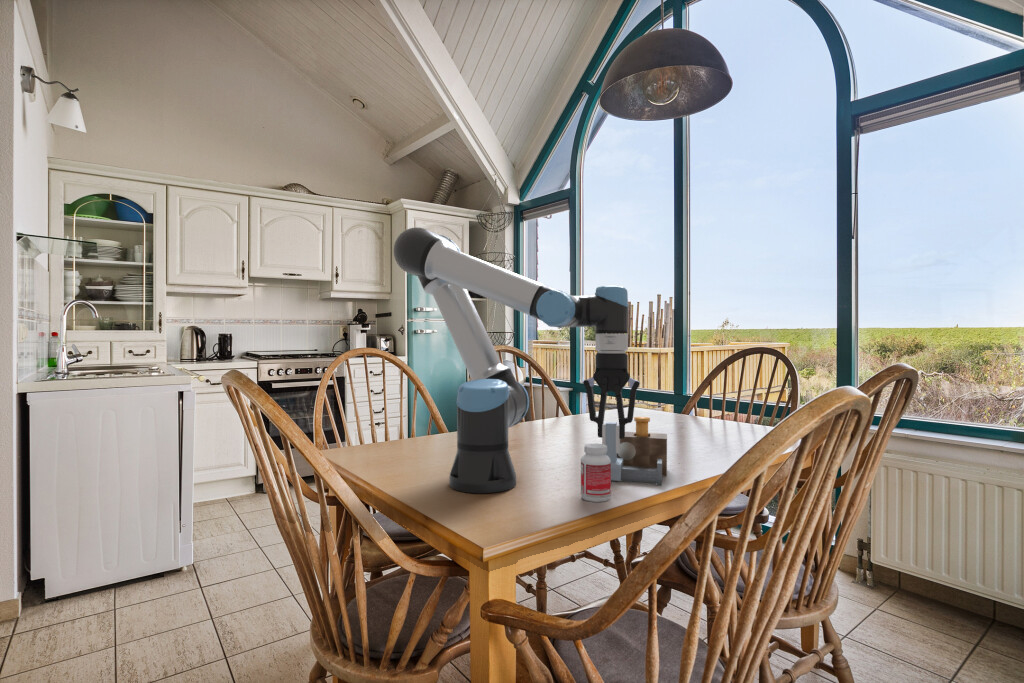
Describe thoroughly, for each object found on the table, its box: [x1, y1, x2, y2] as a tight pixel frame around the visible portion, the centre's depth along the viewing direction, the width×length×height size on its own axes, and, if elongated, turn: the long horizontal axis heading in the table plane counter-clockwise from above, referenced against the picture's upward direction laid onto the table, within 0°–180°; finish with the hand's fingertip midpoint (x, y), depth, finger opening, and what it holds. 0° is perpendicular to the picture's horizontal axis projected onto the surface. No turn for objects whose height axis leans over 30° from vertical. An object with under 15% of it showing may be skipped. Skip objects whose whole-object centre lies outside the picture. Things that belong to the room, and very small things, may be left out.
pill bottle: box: [580, 443, 612, 503], centre depth 112 cm, size 6×6×11 cm
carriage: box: [605, 421, 623, 482], centre depth 127 cm, size 5×7×13 cm
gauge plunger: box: [633, 416, 651, 437], centre depth 135 cm, size 4×4×7 cm
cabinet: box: [617, 431, 668, 477], centre depth 135 cm, size 12×7×9 cm, turn 73°
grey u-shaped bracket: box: [611, 459, 663, 487], centre depth 126 cm, size 17×5×5 cm, turn 73°
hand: (611, 451), depth 127 cm, fingers closed on carriage, 2 cm apart
